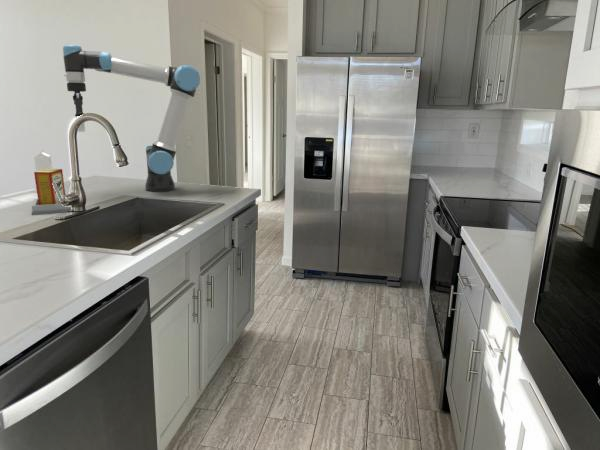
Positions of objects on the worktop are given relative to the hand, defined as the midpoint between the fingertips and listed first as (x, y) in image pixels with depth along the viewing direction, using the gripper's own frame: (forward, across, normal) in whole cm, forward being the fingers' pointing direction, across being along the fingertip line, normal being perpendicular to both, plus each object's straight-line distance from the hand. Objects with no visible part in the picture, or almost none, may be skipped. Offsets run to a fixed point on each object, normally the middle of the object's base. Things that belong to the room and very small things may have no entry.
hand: (81, 130), depth 206 cm
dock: (+32, +19, -14) cm, 40 cm away
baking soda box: (+31, +19, -14) cm, 39 cm away
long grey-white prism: (+32, -16, -18) cm, 40 cm away
